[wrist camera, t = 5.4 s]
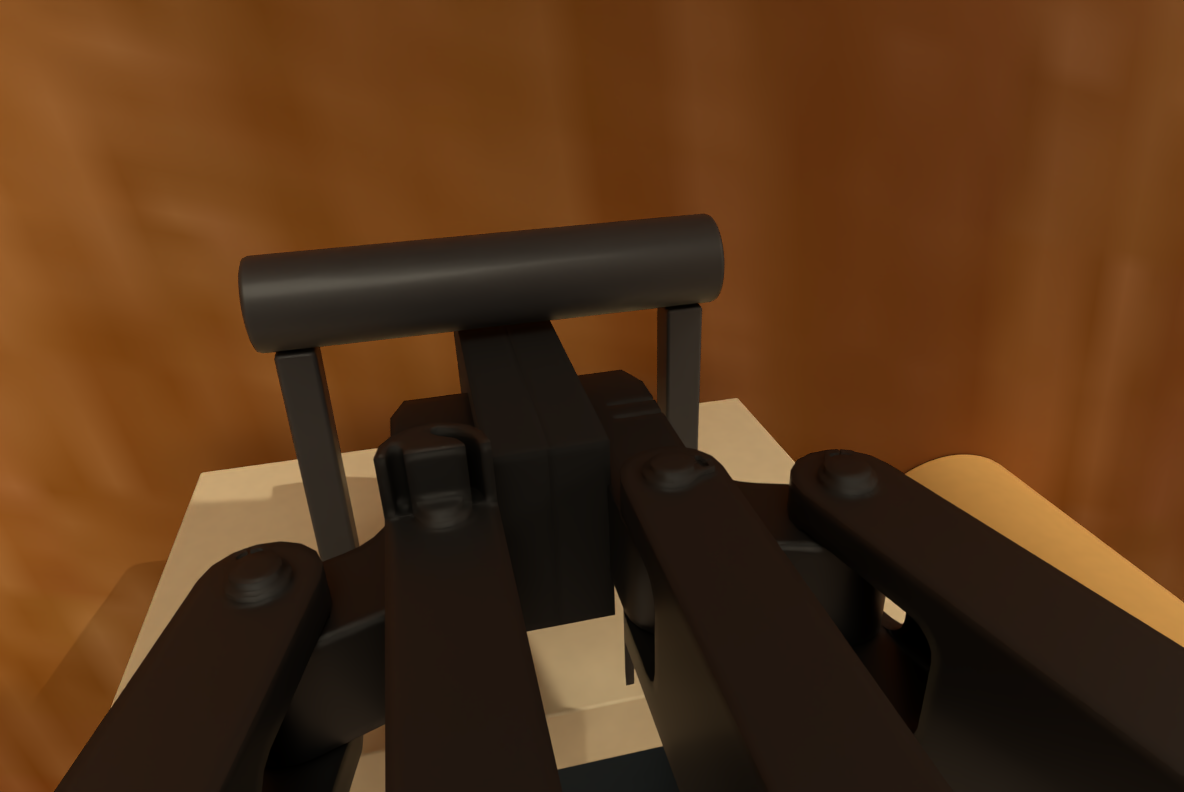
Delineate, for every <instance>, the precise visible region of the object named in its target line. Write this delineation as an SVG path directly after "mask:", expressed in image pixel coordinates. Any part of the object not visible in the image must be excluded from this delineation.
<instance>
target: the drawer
mask: <svg viewBox="0 0 1184 792" xmlns="http://www.w3.org/2000/svg"><path fill="white" fill-rule="evenodd" d="M723 278H724V251H723V245H722V240H721V236H720V232H719V230H718V227H717V225H716V223H715V221H714V220H713V218H712V217H711V216H709V215H706V214H694V215H683V216H672V217H661V218H651V219H640V220H629V221H618V222H608V223H597V224H586V225H575V226H565V227H554V228H543V229H532V230H522V231H511V232H500V233H489V234H479V235H468V236H457V237H446V238H435V239H425V240H414V241H403V242H392V243H382V244H371V245H360V246H349V247H339V248H328V249H317V250H306V251H296V252H285V253H274V254H263V255H253V256H246V257H244V258H242V260H241V262H240V266H239V273H238V286H239V297H240V304H241V310H242V315H243V319H244V323H245V327H246V330H247V333H248V336H249V339H250V341H251V343H252V345H253V347H254V348H255V350H256V351H257V352H260V353H270V352H276V354H275V358H274V360H275V364H276V369H277V373H278V377H279V382H280V386H281V391H282V395H283V399H284V404H285V408H286V412H287V417H288V421H289V425H290V430H291V434H292V438H293V443H294V447H295V451H296V456H297V460H289V461H282V462H275V463H268V464H261V465H254V466H246V467H239V468H232V469H225V470H218V471H211V472H204V473H201V474H200V477H199V480H198V482H197V485H196V487H195V490H194V493H193V495H192V498H191V500H190V503H189V506H188V508H187V511H186V513H185V516H184V519H183V521H182V524H181V526H180V529H179V532H178V534H177V537H176V539H175V542H174V545H173V547H172V550H171V552H170V555H169V558H168V560H167V563H166V565H165V568H164V571H163V573H162V576H161V578H160V581H159V584H158V586H157V589H156V591H155V594H154V597H153V599H152V602H151V604H150V607H149V610H148V612H147V615H146V617H145V620H144V623H143V625H142V628H141V630H140V633H139V636H138V638H137V641H136V643H135V646H134V648H133V651H132V654H131V656H130V659H129V661H128V664H127V667H126V669H125V672H124V674H123V677H122V680H121V682H120V685H119V687H118V690H117V693H116V695H115V698H114V700H113V703H112V706H113V704H114V703H115V701H116V700H117V698H118V697H119V695H120V694H121V692H122V691H123V689H124V688H125V686H126V685H127V683H128V682H129V681H130V679H131V678H132V676H133V675H134V673H135V672H136V670H137V669H138V667H139V666H140V664H141V663H142V661H143V660H144V658H145V657H146V656H147V654H148V653H149V651H150V650H151V648H152V647H153V645H154V644H155V642H156V641H157V639H158V638H159V636H160V635H161V633H162V632H163V630H164V629H165V628H166V626H167V625H168V623H169V622H170V620H171V619H172V617H173V616H174V614H175V613H176V611H177V610H178V608H179V607H180V605H181V604H182V602H183V601H184V600H185V598H186V597H187V595H188V594H189V592H190V591H191V589H192V588H193V586H194V585H195V583H196V582H197V581H198V580H199V578H200V577H201V576H202V575H203V574H204V573H205V572H206V571H207V570H208V569H209V568H210V567H211V566H212V565H214V564H215V563H217V562H219V561H220V560H222V559H224V558H225V557H227V556H229V555H230V554H232V553H234V552H237V551H240V550H242V549H244V548H248V547H250V546H254V545H257V544H264V543H271V542H278V541H284V542H293V543H302V544H304V545H305V546H307V547H309V548H311V549H313V550H315V551H316V552H317V553H318V555H319V557H320V559H321V560H322V562H323V561H325V560H328V559H331V558H333V557H336V556H339V555H341V554H344V553H346V552H348V551H350V550H353V549H355V548H357V547H359V546H361V545H362V544H364V543H365V542H367V541H368V540H370V539H371V538H373V537H374V536H375V535H376V534H377V533H378V532H379V531H380V530H381V529H382V528H383V527H384V526H385V519H384V514H383V508H382V503H381V498H380V493H379V487H378V482H377V477H376V471H375V466H374V461H373V458H374V456H375V453H376V451H377V448H375V449H368V450H361V451H354V452H347V453H341V450H340V445H339V440H338V435H337V430H336V425H335V420H334V415H333V410H332V405H331V400H330V395H329V390H328V386H327V381H326V376H325V371H324V366H323V361H322V356H321V351H320V347H322V346H331V345H340V344H348V343H357V342H366V341H374V340H383V339H392V338H400V337H409V336H418V335H427V334H435V333H444V332H453V331H461V330H470V329H479V328H487V327H496V326H505V325H514V324H522V323H531V322H540V321H548V320H557V319H566V318H574V317H583V316H592V315H601V314H609V313H618V312H627V311H635V310H644V309H653V308H657V404H658V406H659V407H660V409H661V413H662V412H663V413H664V415H665V416H666V418H667V419H668V421H669V422H670V424H671V425H672V427H673V428H674V430H675V431H676V433H677V434H678V436H679V438H680V439H681V441H682V442H683V444H684V445H685V447H687V448H693V449H697V450H699V451H702V452H704V453H707V454H709V455H712V456H713V457H714V458H715V459H716V460H717V461H718V462H720V463H721V464H722V465H723V466H724V468H725V469H726V471H727V472H728V474H729V475H730V476H731V478H732V479H733V480H736V481H742V482H752V483H773V484H789V482H790V470H791V469H792V467H793V465H794V464H795V462H794V461H793V460H792V459H791V458H790V456H789V455H788V454H787V453H786V452H785V451H784V450H783V449H782V447H781V446H780V445H779V444H778V443H777V442H776V441H775V440H774V438H773V437H772V436H771V435H770V434H769V433H768V432H767V431H766V429H765V428H764V427H763V426H762V425H761V424H760V423H759V422H758V421H757V419H756V418H755V417H754V416H753V415H752V414H751V413H750V412H749V410H748V409H747V408H746V407H745V406H744V405H743V404H742V403H741V401H740V400H739V399H738V398H733V399H726V400H719V401H712V402H704V403H699V392H700V358H701V324H702V308H701V306H700V305H699V304H698V303H705V302H711V301H713V300H715V299H716V298H717V297H718V296H719V294H720V291H721V288H722V284H723ZM614 592H615V615H612V616H607V617H601V618H596V619H591V620H586V621H580V622H575V623H570V624H565V625H559V626H554V627H549V628H543V629H538V630H533V631H528V632H527V636H528V640H529V645H530V649H531V654H532V658H533V662H534V667H535V671H536V676H537V680H538V685H539V689H540V694H541V698H542V703H543V707H544V712H545V716H546V721H547V725H548V730H549V734H550V738H551V743H552V747H553V752H554V756H555V761H556V765H557V770H558V774H559V779H560V783H561V788H562V792H680V791H679V789H678V786H677V783H676V780H675V778H674V775H673V772H672V770H671V767H670V764H669V761H668V759H667V756H666V753H665V750H664V748H663V745H662V742H661V739H660V737H659V734H658V731H657V728H656V726H655V723H654V720H653V717H652V715H651V712H650V709H649V706H648V704H647V701H646V698H645V696H644V693H643V690H642V687H641V685H640V682H639V679H638V676H637V674H636V671H635V669H634V684H631V685H627V686H626V678H625V653H624V615H623V606H622V604H621V601H620V599H619V596H618V593H617V591H616V588H615V586H614ZM883 611H884V612H885V613H887V614H888V615H889V616H890V617H891V618H893V619H894V620H896V621H898V622H899V623H901V624H903V623H904V621H905V615H906V612H904V611H903V610H902V609H901V608H900V607H898V606H897V605H896V604H895V603H893V602H892V601H891V600H890V599H888V598H887V597H885V603H884V609H883ZM112 706H111V707H112ZM110 709H111V708H110ZM349 792H385V725H383V726H381V727H379V728H377V729H374V730H372V731H370V732H368V733H366V734H364V735H363V747H362V753H361V756H360V759H359V762H358V766H357V769H356V772H355V775H354V778H353V782H352V785H351V788H350V791H349Z"/></svg>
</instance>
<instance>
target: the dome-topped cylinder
mask: <svg viewBox="0 0 1184 792" xmlns="http://www.w3.org/2000/svg"><path fill="white" fill-rule="evenodd" d="M905 475H907V476H909V477H910V478H912V479H913V480H915V481H917V482H918V483H920V484H922V485H923V486H925V487H926V488H928V489H930V490H931V491H933V492H934V493H936V494H938V495H939V496H941V497H942V498H944V499H946V500H947V501H949V502H951V503H952V504H954V505H955V506H957V507H959V508H960V509H962V510H963V511H965V512H967V513H968V514H970V515H971V516H973V517H975V518H976V519H978V520H980V521H981V522H983V523H984V524H986V525H988V526H989V527H991V528H992V529H994V530H996V531H997V532H999V533H1000V534H1002V535H1004V536H1005V537H1007V538H1009V539H1010V540H1012V541H1013V542H1015V543H1017V544H1018V545H1020V546H1021V547H1023V548H1025V549H1026V550H1028V551H1029V552H1031V553H1033V554H1034V555H1036V556H1037V557H1039V558H1041V559H1042V560H1044V561H1046V562H1047V563H1049V564H1050V565H1052V566H1054V567H1055V568H1057V569H1058V570H1060V571H1062V572H1063V573H1065V574H1066V575H1068V576H1070V577H1071V578H1073V579H1075V580H1076V581H1078V582H1079V583H1081V584H1083V585H1084V586H1086V587H1087V588H1089V589H1091V590H1092V591H1094V592H1095V593H1097V594H1099V595H1100V596H1102V597H1104V598H1105V599H1107V600H1108V601H1110V602H1112V603H1113V604H1115V605H1116V606H1118V607H1120V608H1121V609H1123V610H1124V611H1126V612H1128V613H1129V614H1131V615H1133V616H1134V617H1136V618H1137V619H1139V620H1141V621H1142V622H1144V623H1145V624H1147V625H1149V626H1150V627H1152V628H1153V629H1155V630H1157V631H1158V632H1160V633H1162V634H1163V635H1165V636H1166V637H1168V638H1170V639H1171V640H1173V641H1174V642H1176V643H1178V644H1179V645H1181V646H1182V647H1184V602H1182V601H1181V600H1180V599H1178V598H1177V597H1176V596H1174V595H1173V594H1172V593H1170V592H1169V591H1168V590H1166V589H1165V588H1164V587H1162V586H1161V585H1160V584H1158V583H1157V582H1156V581H1154V580H1153V579H1152V578H1150V577H1149V576H1148V575H1146V574H1145V573H1144V572H1142V571H1141V570H1140V569H1138V568H1137V567H1136V566H1134V565H1133V564H1132V563H1130V562H1129V561H1128V560H1126V559H1125V558H1124V557H1122V556H1121V555H1120V554H1118V553H1117V552H1116V551H1114V550H1113V549H1112V548H1110V547H1109V546H1108V545H1106V544H1105V543H1104V542H1102V541H1101V540H1100V539H1098V538H1097V537H1096V536H1094V535H1093V534H1092V533H1090V532H1089V531H1088V530H1086V529H1085V528H1084V527H1082V526H1081V525H1080V524H1078V523H1077V522H1076V521H1074V520H1073V519H1072V518H1070V517H1069V516H1068V515H1066V514H1065V513H1064V512H1062V511H1061V510H1060V509H1058V508H1057V507H1056V506H1054V505H1053V504H1052V503H1050V502H1049V501H1048V500H1046V499H1045V498H1044V497H1042V496H1041V495H1040V494H1038V493H1037V492H1036V491H1034V490H1033V489H1032V488H1030V487H1029V486H1028V485H1026V484H1025V483H1024V482H1022V481H1021V480H1020V479H1019V478H1017V477H1016V476H1015V475H1013V474H1012V473H1011V472H1009V471H1008V470H1007V469H1005V468H1004V467H1003V466H1001V465H1000V464H998V463H997V462H995V461H993V460H991V459H988V458H985V457H982V456H976V455H952V456H946V457H942V458H938V459H935V460H932V461H929V462H926V463H924V464H922V465H920V466H918V467H916V468H914V469H912V470H910V471H909V472H907V473H905Z"/></svg>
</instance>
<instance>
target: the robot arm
mask: <svg viewBox="0 0 1184 792" xmlns="http://www.w3.org/2000/svg"><path fill="white" fill-rule="evenodd" d="M454 337H455V345H456V353H457V361H458V369H459V377H460V385H461V394H454V395H446V396H439V397H431V398H424V399H416V400H409V401H404V402H403V403H402V404H401V405H400V407H399V408H398V409H397V411H396V412H395V413H394V414H393V416H392V417H391V418H390V426H391V437H389V438H388V439H387V440H386V441H385V442H384V443H382V444H381V445H380V446H379V447H378V448H377V451H376V453H375V456H374V458H373V461H374V466H375V471H376V477H377V482H378V487H379V493H380V498H381V503H382V508H383V514H384V519H385V526H384V527H383V528H382V529H381V530H380V531H379V532H378V533H377V534H376V535H375V536H374V537H373V538H371V539H370V540H368V541H367V542H365V543H364V544H362V545H361V546H359V547H357V548H355V549H353V550H350V551H348V552H346V553H344V554H341V555H339V556H336V557H333V558H331V559H328V560H325V561H323V562H322V560H321V559H320V557H319V555H318V553H317V552H316V551H315V550H313V549H311V548H309V547H307V546H305V545H304V544H302V543H293V542H284V541H278V542H271V543H264V544H257V545H254V546H250V547H248V548H244V549H242V550H240V551H237V552H234V553H232V554H230V555H229V556H227V557H225V558H224V559H222V560H220V561H219V562H217V563H215V564H214V565H212V566H211V567H210V568H209V569H208V570H207V571H206V572H205V573H204V574H203V575H202V576H201V577H200V578H199V580H198V581H197V582H196V583H195V585H194V586H193V588H192V589H191V591H190V592H189V594H188V595H187V597H186V598H185V600H184V601H183V602H182V604H181V605H180V607H179V608H178V610H177V611H176V613H175V614H174V616H173V617H172V619H171V620H170V622H169V623H168V625H167V626H166V628H165V629H164V630H163V632H162V633H161V635H160V636H159V638H158V639H157V641H156V642H155V644H154V645H153V647H152V648H151V650H150V651H149V653H148V654H147V656H146V657H145V658H144V660H143V661H142V663H141V664H140V666H139V667H138V669H137V670H136V672H135V673H134V675H133V676H132V678H131V679H130V681H129V682H128V683H127V685H126V686H125V688H124V689H123V691H122V692H121V694H120V695H119V697H118V698H117V700H116V701H115V703H114V704H113V706H112V707H111V709H110V710H109V711H108V713H107V714H106V716H105V717H104V719H103V720H102V722H101V723H100V725H99V726H98V728H97V729H96V731H95V732H94V734H93V735H92V737H91V738H90V739H89V741H88V742H87V744H86V745H85V747H84V748H83V750H82V751H81V753H80V754H79V756H78V757H77V759H76V760H75V762H74V763H73V765H72V766H71V767H70V769H69V770H68V772H67V773H66V775H65V776H64V778H63V779H62V781H61V782H60V784H59V785H58V787H57V788H56V790H55V791H54V792H349V791H350V788H351V785H352V782H353V778H354V775H355V772H356V769H357V766H358V762H359V759H360V756H361V753H362V747H363V735H364V734H366V733H368V732H370V731H372V730H374V729H377V728H379V727H381V726H383V725H385V792H562V788H561V783H560V779H559V774H558V770H557V765H556V761H555V756H554V752H553V747H552V743H551V738H550V734H549V730H548V725H547V721H546V716H545V712H544V707H543V703H542V698H541V694H540V689H539V685H538V680H537V676H536V671H535V667H534V662H533V658H532V654H531V649H530V645H529V640H528V636H527V632H528V631H533V630H538V629H543V628H549V627H554V626H559V625H565V624H570V623H575V622H580V621H586V620H591V619H596V618H601V617H607V616H612V615H615V592H614V586H615V588H616V591H617V593H618V596H619V599H620V601H621V604H622V606H623V615H624V653H625V678H626V686H627V685H631V684H634V669H635V671H636V674H637V676H638V679H639V682H640V685H641V687H642V690H643V693H644V696H645V698H646V701H647V704H648V706H649V709H650V712H651V715H652V717H653V720H654V723H655V726H656V728H657V731H658V734H659V737H660V739H661V742H662V745H663V748H664V750H665V753H666V756H667V759H668V761H669V764H670V767H671V770H672V772H673V775H674V778H675V780H676V783H677V786H678V789H679V791H680V792H1184V647H1182V646H1181V645H1179V644H1178V643H1176V642H1174V641H1173V640H1171V639H1170V638H1168V637H1166V636H1165V635H1163V634H1162V633H1160V632H1158V631H1157V630H1155V629H1153V628H1152V627H1150V626H1149V625H1147V624H1145V623H1144V622H1142V621H1141V620H1139V619H1137V618H1136V617H1134V616H1133V615H1131V614H1129V613H1128V612H1126V611H1124V610H1123V609H1121V608H1120V607H1118V606H1116V605H1115V604H1113V603H1112V602H1110V601H1108V600H1107V599H1105V598H1104V597H1102V596H1100V595H1099V594H1097V593H1095V592H1094V591H1092V590H1091V589H1089V588H1087V587H1086V586H1084V585H1083V584H1081V583H1079V582H1078V581H1076V580H1075V579H1073V578H1071V577H1070V576H1068V575H1066V574H1065V573H1063V572H1062V571H1060V570H1058V569H1057V568H1055V567H1054V566H1052V565H1050V564H1049V563H1047V562H1046V561H1044V560H1042V559H1041V558H1039V557H1037V556H1036V555H1034V554H1033V553H1031V552H1029V551H1028V550H1026V549H1025V548H1023V547H1021V546H1020V545H1018V544H1017V543H1015V542H1013V541H1012V540H1010V539H1009V538H1007V537H1005V536H1004V535H1002V534H1000V533H999V532H997V531H996V530H994V529H992V528H991V527H989V526H988V525H986V524H984V523H983V522H981V521H980V520H978V519H976V518H975V517H973V516H971V515H970V514H968V513H967V512H965V511H963V510H962V509H960V508H959V507H957V506H955V505H954V504H952V503H951V502H949V501H947V500H946V499H944V498H942V497H941V496H939V495H938V494H936V493H934V492H933V491H931V490H930V489H928V488H926V487H925V486H923V485H922V484H920V483H918V482H917V481H915V480H913V479H912V478H910V477H909V476H907V475H905V474H904V473H902V472H901V471H899V470H897V469H896V468H894V467H893V466H891V465H889V464H888V463H886V462H883V461H881V460H879V459H877V458H875V457H872V456H870V455H867V454H862V453H858V452H854V451H851V450H842V449H840V450H838V449H835V450H825V451H819V452H814V453H810V454H808V455H806V456H804V457H802V458H800V459H798V460H797V461H796V462H795V464H794V465H793V467H792V469H791V470H790V482H789V484H773V483H752V482H742V481H736V480H733V479H732V478H731V476H730V475H729V474H728V472H727V471H726V469H725V468H724V466H723V465H722V464H721V463H720V462H718V461H717V460H716V459H715V458H714V457H713V456H712V455H709V454H707V453H704V452H702V451H699V450H697V449H693V448H687V447H685V445H684V444H683V442H682V441H681V439H680V438H679V436H678V434H677V433H676V431H675V430H674V428H673V427H672V425H671V424H670V422H669V421H668V419H667V418H666V416H665V415H664V413H663V412H662V413H661V409H660V407H659V406H658V404H657V403H656V401H655V400H653V397H652V395H651V394H650V392H649V391H648V389H647V388H646V386H645V384H644V383H643V381H641V380H639V379H637V378H635V377H634V376H632V375H630V374H628V373H626V372H625V371H623V370H616V371H608V372H601V373H593V374H586V375H578V376H577V374H576V372H575V370H574V368H573V366H572V364H571V362H570V360H569V358H568V356H567V354H566V352H565V350H564V348H563V346H562V344H561V342H560V340H559V338H558V336H557V334H556V332H555V330H554V328H553V326H552V324H551V322H550V320H548V321H540V322H531V323H522V324H514V325H505V326H496V327H487V328H479V329H470V330H461V331H454ZM885 597H887V598H888V599H890V600H891V601H892V602H893V603H895V604H896V605H897V606H898V607H900V608H901V609H902V610H903V611H904V612H906V615H905V621H904V623H903V624H901V623H899V622H898V621H896V620H894V619H893V618H891V617H890V616H889V615H888V614H887V613H885V612H884V611H883V609H884V603H885Z"/></svg>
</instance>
